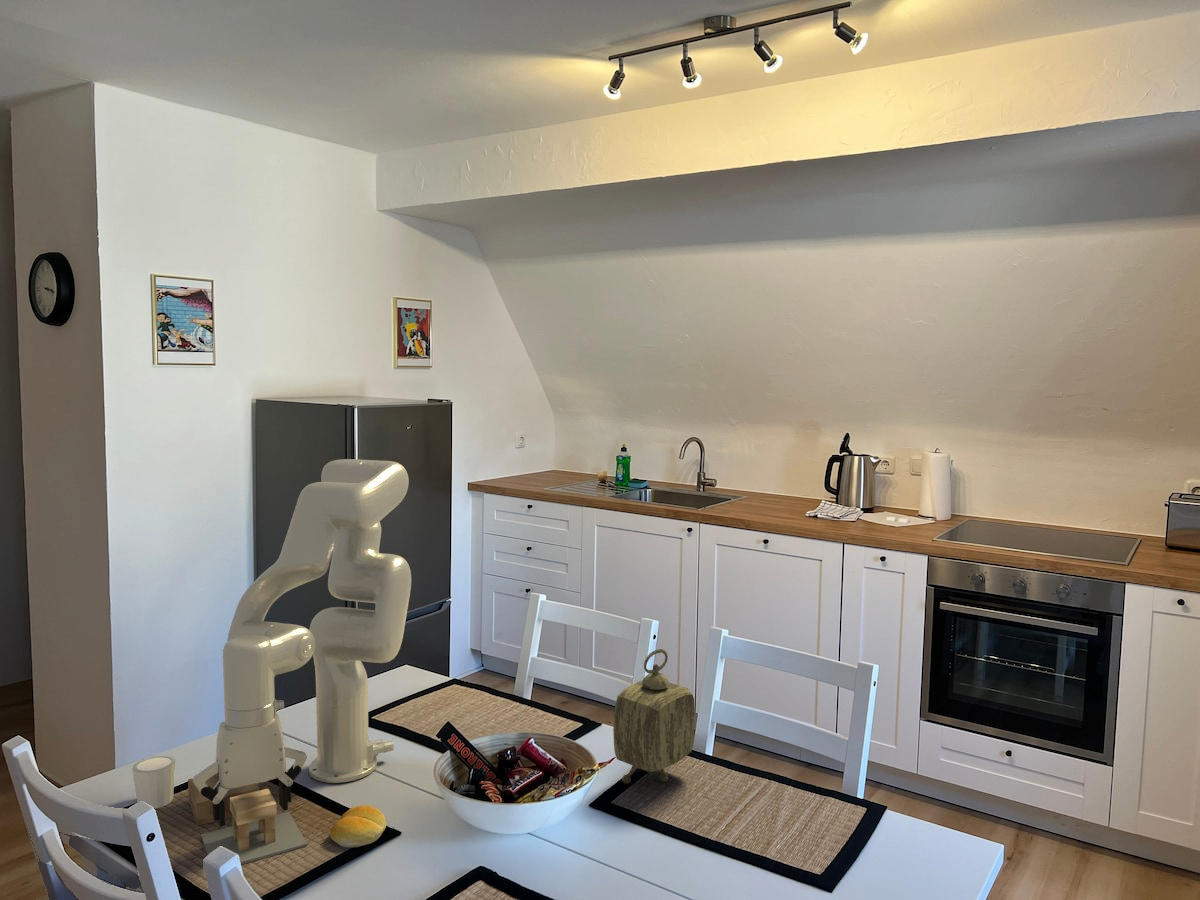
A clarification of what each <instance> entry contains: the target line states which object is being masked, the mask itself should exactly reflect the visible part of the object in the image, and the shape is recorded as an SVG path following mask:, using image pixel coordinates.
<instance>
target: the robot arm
mask: <svg viewBox="0 0 1200 900" xmlns="http://www.w3.org/2000/svg"><path fill="white" fill-rule="evenodd" d="M320 478H321V481H317V482H312V483H310V484H307V485H306V486H305V487H304V488H303V489H302V490H301V491H300V494H299V496H298V498H297V501H296V504H295V507H294V510H293V513H292V517H291V520H290V524H289V527H288V529H287V533H286V535H285V539H284V542H283V545H282V547H281V552H280V554H279V557H278V559H277V560H276V561H275V563H273V564H272V565H271V566H269V567H268V568H267V569H265V571H263V572H262V573H261V574H260V575H259V576H258V577H257V578H256V579H255V580H254V581H253V582H252V583H251V585H250V586H248V588H247V589H246V590H245V592H244V593H243V595H242V596H241V597H240V599H239V601H238V604H237V605H236V609H235V612H234V615H233V618H232V621H231V623H230V628H229V630H228V634H227V635H228V636H227V639H226V642H225V644H224V646H223V649H222V668H223V669H222V670H223V675H222V676H223V697H224V698H223V699H224V700H223V702H224V707H223V708H224V721H222V722H221V723H219V726H218V732H217V738H216V750H215V751H216V753H215V762H213V763H211V764H210V765H209V766H207V767H206V768H204V769H203V770H202V771H200V772H199V773H197V774H196V775H194V776H193V782H194V784H195V786H196V787H197V788H198V790H199V791H200V792H201V794H202V795H203V796H204V797H206V798H207V799H209V800H211V801H212V802H213V819H214V821H215V822H218V825H219V828H222V827H224V826H226V819H225V804H224V801H223V799H222V798H223V797H224V796H225V794H226V793H227V792H228V790H229V789H235V788H239V787H244V786H248V785H252V784H256V783H257V784H259V783H264V782H269V781H272V780H276V779H278V780H279V782H278V803H279V805H280V808H281V809H282V811H284V812H285V811H288V810H289V806H288V805H289V804H288V803H290V802H292V795H291V794H292V793H291V792H292V788H291V787H292V785H293V784H294V781H295V780H296V778H297V777H299V774H300V773H302V768H303V767H304V765H305V762H306V761H307V758H308V755H307V753H306V752H305V751H302V750H298V749H296V748H295V749H293V748H290V747H286V746H285V742H284V740H285V739H284V735H283V734H284V733H283V728H282V724H281V723H282V722H281V720H280V717H279V714H278V713H277V712H278V711H279V710H281V709H284V708H285V701H284V700H283V699H280V700H279V699H276V698H275V677H276V676H278V675H281V674H285V673H288V672H293V671H296V670H298V669H300V668H302V667H304V665H306V664H307V663H308V662H309V661H310V660H311V659H312V657H313V663H314V664H313V665H314V671H315V672H314V673H315V697H316V698H315V702H316V703H315V707H316V708H315V709H316V748H317V749H316V751H317V757H316V758H314V759H313V760H312V761H311V762H310V763H309V767H308V772H309V773H308V774H309V775H310V777H311V778H313V779H314V780H316V781H319V782H321V783H330V784H331V783H332V784H339V783H348V782H353V781H354V782H355V781H356V780H360V779H363V778H365V777H367V776H368V775H370V774H371V773H373V772H374V771H375V770H376V769H377V767H378V758H377V757H378V755H379V754H382V753H389V752H393V751H394V743H393V740H390V741H389V740H388V741H385V742H383V739H382V738H381V739H380V738H379V739H376V740H373V741H371V740H370V739H369V696H368V695H369V683H368V673H367V670H366V669H365V666H364V664H363V662H366V663H375V664H378V663H379V664H384V663H389V662H390V661H392V660H394V659H395V658H396V656H397V655H398V653H399V651H400V649H401V647H402V646H401V645H402V644H403V643H402V642H403V639H404V632H405V627H406V620H407V616H408V615H407V614H408V608H409V601H410V597H411V589H412V570H411V568H410V565H409V563H408V562H407V560H406V559H405V558H404V557H402V556H400V555H397V554H393V553H381V552H380V546H381V545H380V544H381V538H382V526H381V525H382V524H381V521H382V520H383V519H384V518H385V517H386V516H387V515H389V513H391V512H392V511H393V510H394V509H396V507H398V506H399V505H400V504H401V502H403V500H404V499H405V496H406V495H407V493H408V489H409V484H410V483H409V482H410V481H409V474H408V472H407V470H406V468H405V467H404V466H403V465H402V464H401V463H399V462H397V461H391V460H375V459H372V460H371V459H360V458H359V459H356V458H354V459H352V458H351V459H350V458H346V459H345V458H344V459H336V460H335V459H334V460H331V461H329V462H328V463H327V462H326V464H325V465H324V466H323V468H322V470H321V477H320ZM328 569H329V572H328V579H327V586H328V587H327V589H328V591H329V593H330V595H331V596H332V597H334V598H336V599H338V600H343V601H350V602H361V603H370V604H375V608H374V610H373V609H363V608H358V607H357V608H356V607H355V608H354V607H342V606H334V607H333V606H332V607H328V608H324V609H322V610H320V611H318V613H317V614H315V615H314V617H313V619H312V620H311V621H310V625H309V629H308V628H307V627H305V626H302V625H299V624H291V623H282V622H274V621H264V620H265V618H266V615H267V614H268V611H269V610H270V608H271V607H272V605H274V602H276V601H277V600H278V599H279V598H280V597H282V595H284V594H285V593H287V592H289V591H291V590H292V589H295V588H297V587H299V586H301V585H305V584H306V583H309V582H312V581H314V580H317V579H319V578H321V577H323V576H324V575H326V573H327V571H328ZM286 758H288V759H291V760H294V763H293V764H292V765H291V766H290V767H289V769H288V770H287V771H286V768H287V767H286V765H287V763H286ZM215 774H216V777H217V779H219V781H218V783H217V784H216V785H215V787H214V788H213V789H212V788H211V787H209V786H208V785H206V783H205V782H206V780H208V779H209V778H210V777H212V776H213V775H215ZM217 820H218V821H217ZM224 828H225V827H224Z"/></svg>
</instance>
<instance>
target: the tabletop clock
mask: <svg viewBox="0 0 1200 900" xmlns="http://www.w3.org/2000/svg"><path fill="white" fill-rule="evenodd" d="M660 653H662V654H663V655H664V661H663V662H662V664H660V665H658V664H657V663H656V664H653V665H652V669H647V664H648V662H649V660H650V659H651V658H652V657H653V656H654V655H657V654H660ZM667 662H668V653H667V651H666V650H665V649H661V648H660V649H658V648H657V649H655V650H652V651H651V652H650V653H649V654H647V656H646V657H645V660H644V662H643V669H644V672H646V674H647V675H645V677H643V679H642V680H638V681H637V682H634V683H633V684H630V685H629V686H627V687H625V688H624V689H623V690H621V691H620V693H619V694H618V695H617V697H616V701H615V705H614V715H613V729H612V731H613V749H614V750H613V751H614V755H615V757H616V760H618V761H619V762H623V763H625V764H628V765H630V766H631V768H630V770H629V772H628V774H624V775H623V776H622V778H621V779H622V782H623V783H624V784H629V783H630V782H631V780H632V779H631V776H632V775H633V774H634V772H635V771H636V770H637V769H641V770H643V771H645V772H649V773H653V772H658V771H660V772H661V773H660V775H659V780H660V782H662V783H666V782H668V779H669V775H668V774H667V773H666V772H665V769H666V768H669V767H671V766H673V765H675V764H677V763H678V762H680V761H681V760H683V759H685V758H686V757H687V756H689V754H690V753H691V752H692V751H693V746H694V740H695V725H696V716H695V715H696V709H695V708H696V707H695V706H696V705H695V698H694V695H693V693H692V692H691V690H689V688H688V687H685V686H683V685H679V684H676V683H673V682H670V681H669V680H668V678H667V677H666V676H665V675H664V673H661V672H660V671H661V670H662V669H663V668H665V666H666V664H667Z"/></svg>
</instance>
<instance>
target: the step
mask: <svg viewBox="0 0 1200 900" xmlns="http://www.w3.org/2000/svg"><path fill="white" fill-rule="evenodd" d="M187 780H188V781H187V782H188V783H187V784H188V786H187V787H188V788H187V790H188V802H190V803H189V806H190V805H191V806H190V808H192V809H191V811H192V814H193V817H194V819H195V822H196V826H197V825H199V826H202V824H203V825H207V824H210V823H211V824H212V823H215V822H218V820H217V821H214V819H213V802H212V801H211V800H209V799H207V798H206V797H204V796H203V795H202V794H201V792H200V791H199V790H198V788H197V787H196V786H195V784H194V782H193V778H189V779H187ZM218 781H219V779H217V777H216V774H215V775H213V776H212V777H210V778H209V779H208V780H206V782H205V783H206V785H208V786H209V787H211V788H212V789H213V788H214V787H215V785H216V784H217V783H218ZM255 791H260V787H259V785H258V783H256V784H252V785H248V786H244V787H239V788H235V789H229V790H228V792H227V793H226V794H225V796H224V797H223V798H222V799H223V801H224V804H225V820H226V819H230V818H232V813H231V810H230V798H231V797H235V796H239V795H243V794H247V793H251V792H255Z"/></svg>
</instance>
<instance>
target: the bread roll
mask: <svg viewBox="0 0 1200 900" xmlns="http://www.w3.org/2000/svg"><path fill="white" fill-rule="evenodd" d="M386 828H387V821H386V816H385V815H384V814H383V812H382V811H380V810H379V809H377V808H376V807H374V806H371V805H365V804H364V805H356V806H353V807H351V808H350V809H348V810H347V811H346V812H344V813H343V814H342V815H341V817H340V819H339V820H338V821H336V822H335V823H334V824H333V826H332V827H331V828H330V832H329V833H330V834H329V836H330V839H331V840H332V841H333V842H335V843H336V844H337V845H339V846H340V847H342V848H347V849H348V848H359V847H362V846H367V845H369V844H372V843H374V842H376V841H378V839H379V838H380V837H381V836H382V834H383V833H384V831H385V829H386Z"/></svg>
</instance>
